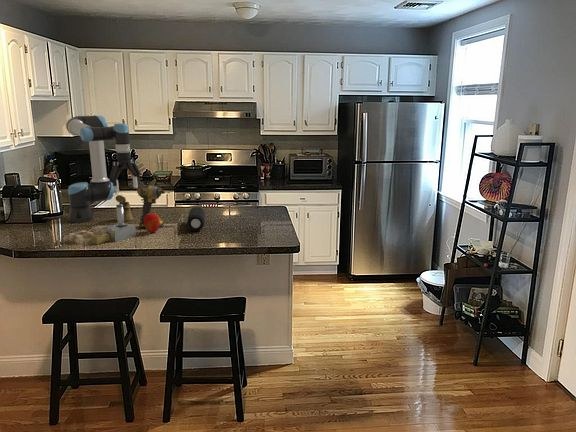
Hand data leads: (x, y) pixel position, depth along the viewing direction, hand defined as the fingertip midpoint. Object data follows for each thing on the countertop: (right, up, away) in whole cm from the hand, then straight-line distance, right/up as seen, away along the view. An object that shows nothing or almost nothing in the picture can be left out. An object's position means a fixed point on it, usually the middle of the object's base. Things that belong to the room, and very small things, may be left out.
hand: (126, 189), depth 269 cm
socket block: (-3, -27, -2) cm, 27 cm away
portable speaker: (+36, -21, +21) cm, 46 cm away
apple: (+12, -24, +8) cm, 29 cm away
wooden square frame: (-21, -28, -8) cm, 36 cm away
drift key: (-9, -29, -11) cm, 32 cm away
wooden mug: (-13, -18, +34) cm, 40 cm away
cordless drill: (+11, -22, +19) cm, 31 cm away
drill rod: (-2, -26, 0) cm, 26 cm away
